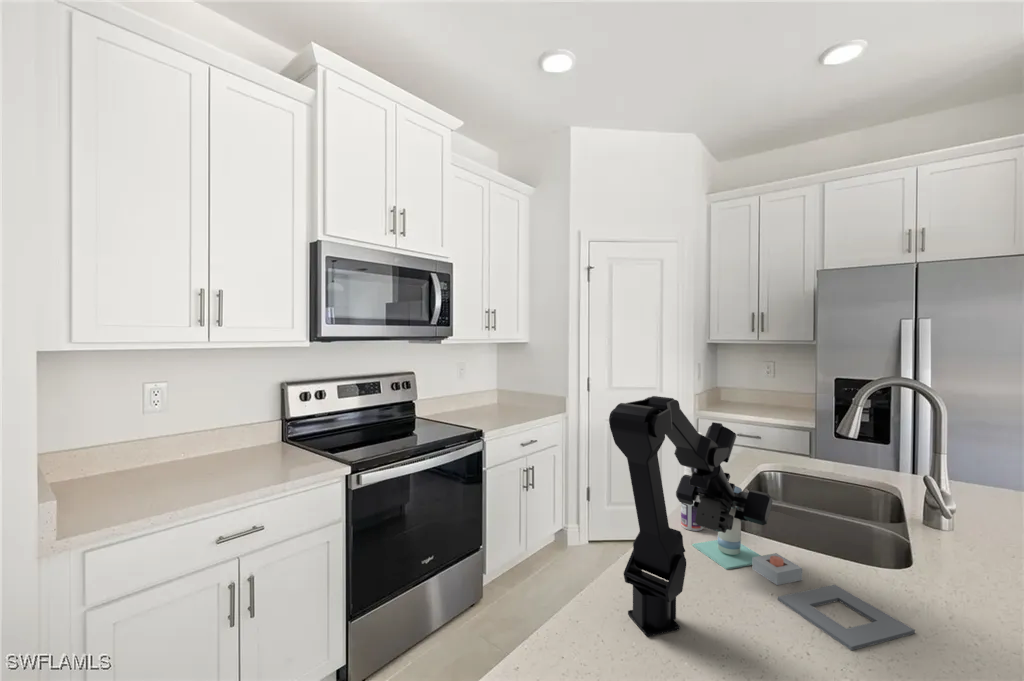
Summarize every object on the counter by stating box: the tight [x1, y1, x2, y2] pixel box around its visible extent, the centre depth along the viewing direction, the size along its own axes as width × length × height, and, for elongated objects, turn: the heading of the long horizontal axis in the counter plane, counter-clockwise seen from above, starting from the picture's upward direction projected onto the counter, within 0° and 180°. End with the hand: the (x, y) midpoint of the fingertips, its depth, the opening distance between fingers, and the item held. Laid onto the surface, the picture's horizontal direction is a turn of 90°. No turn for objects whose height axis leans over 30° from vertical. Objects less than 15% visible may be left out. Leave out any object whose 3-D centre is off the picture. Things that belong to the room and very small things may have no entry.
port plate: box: [777, 584, 916, 651], centre depth 81 cm, size 14×14×1 cm
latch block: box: [751, 552, 803, 586], centre depth 95 cm, size 6×6×2 cm
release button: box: [770, 556, 784, 567], centre depth 95 cm, size 2×2×2 cm
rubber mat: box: [691, 539, 762, 571], centre depth 103 cm, size 11×11×1 cm
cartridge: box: [717, 485, 743, 555], centre depth 103 cm, size 5×5×14 cm
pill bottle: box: [680, 501, 705, 532], centre depth 117 cm, size 5×5×10 cm
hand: (731, 516), depth 104 cm, fingers closed on cartridge, 4 cm apart
